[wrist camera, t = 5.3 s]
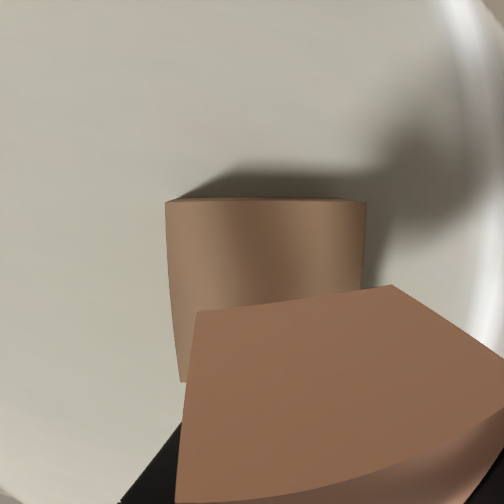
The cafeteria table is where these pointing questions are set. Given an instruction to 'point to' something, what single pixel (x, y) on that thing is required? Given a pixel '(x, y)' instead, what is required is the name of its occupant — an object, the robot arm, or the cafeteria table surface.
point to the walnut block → (257, 254)
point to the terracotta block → (337, 404)
